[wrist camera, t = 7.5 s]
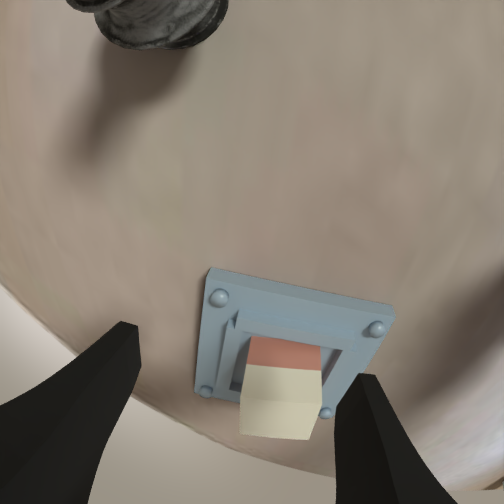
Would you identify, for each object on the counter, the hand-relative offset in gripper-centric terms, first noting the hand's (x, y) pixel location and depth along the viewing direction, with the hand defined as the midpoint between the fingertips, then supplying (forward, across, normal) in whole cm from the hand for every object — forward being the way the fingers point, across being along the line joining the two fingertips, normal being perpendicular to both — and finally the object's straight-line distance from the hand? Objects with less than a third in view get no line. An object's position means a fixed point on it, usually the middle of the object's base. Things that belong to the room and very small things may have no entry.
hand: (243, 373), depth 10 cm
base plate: (+10, -3, +9) cm, 14 cm away
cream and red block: (+9, -3, +9) cm, 13 cm away
